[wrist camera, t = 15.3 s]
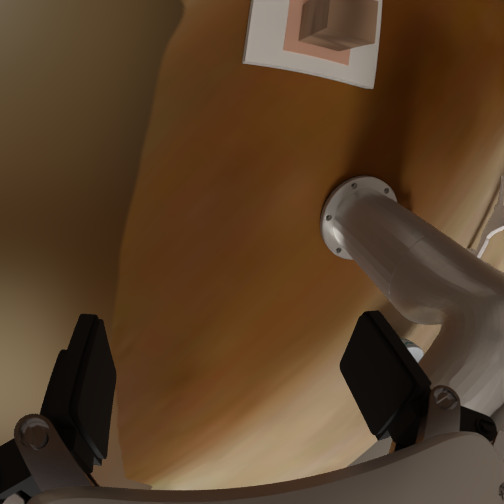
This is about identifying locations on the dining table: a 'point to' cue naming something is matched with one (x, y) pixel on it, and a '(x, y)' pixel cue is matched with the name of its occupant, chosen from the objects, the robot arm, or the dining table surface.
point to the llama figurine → (492, 223)
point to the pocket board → (304, 46)
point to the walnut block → (339, 23)
